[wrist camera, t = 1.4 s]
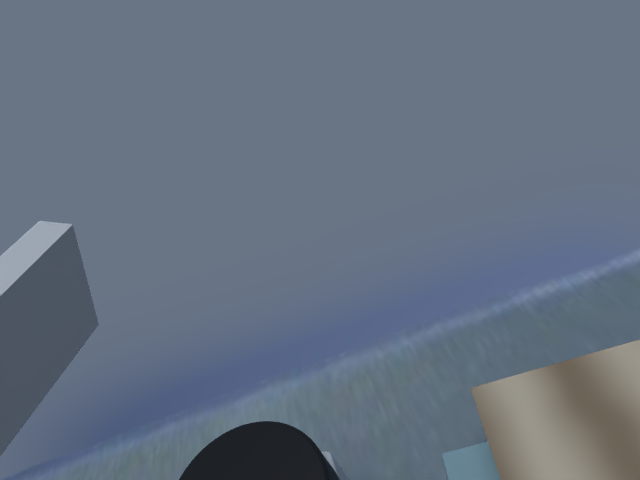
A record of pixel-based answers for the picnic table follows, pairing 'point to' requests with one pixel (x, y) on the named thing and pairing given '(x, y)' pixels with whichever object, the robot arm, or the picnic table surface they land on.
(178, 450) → the picnic table surface
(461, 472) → the build board
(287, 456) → the jar
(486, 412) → the base block
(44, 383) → the robot arm
